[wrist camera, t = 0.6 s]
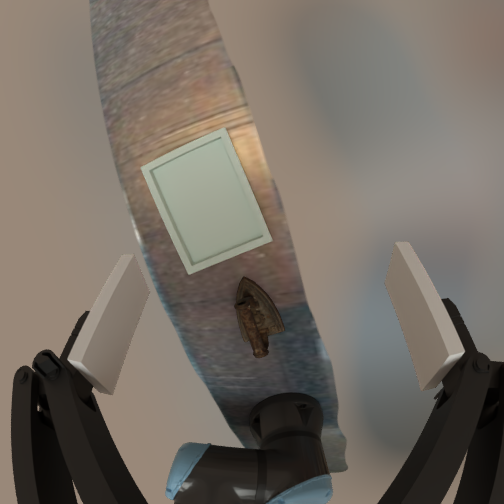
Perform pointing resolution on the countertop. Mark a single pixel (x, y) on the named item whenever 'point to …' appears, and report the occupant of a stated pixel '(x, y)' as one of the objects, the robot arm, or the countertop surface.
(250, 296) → the clothes iron
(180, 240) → the iron rest
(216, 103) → the countertop surface
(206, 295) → the countertop surface
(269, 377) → the countertop surface
